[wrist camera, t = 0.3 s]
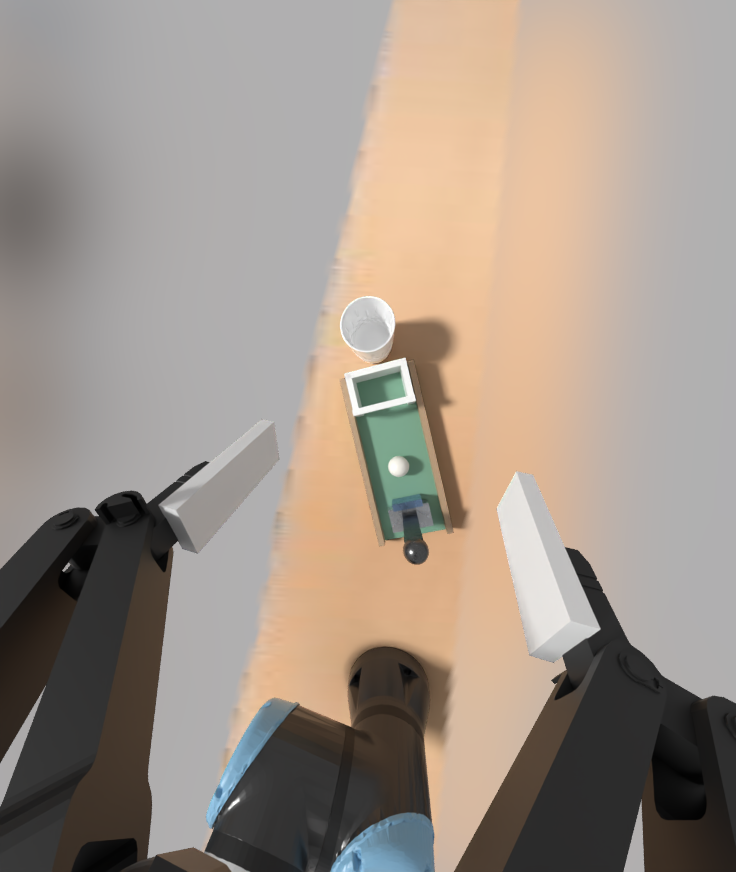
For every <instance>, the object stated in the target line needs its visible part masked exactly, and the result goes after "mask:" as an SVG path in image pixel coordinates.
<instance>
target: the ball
mask: <svg viewBox="0 0 736 872" xmlns="http://www.w3.org/2000/svg"><path fill="white" fill-rule="evenodd" d="M388 469H389V472H390V473H391V474H392V475H393V476H396V477H402V476H404V475H406V474H407V472H408V470H409V463H408V461H407V460H406V459H405V458H404V457H402V456H395V457H393V458H392V459H391V460H390V461H389V464H388Z"/></svg>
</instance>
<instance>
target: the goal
mask: <svg viewBox="0 0 736 872" xmlns="http://www.w3.org/2000/svg"><path fill="white" fill-rule="evenodd" d="M397 372H400V374H401V378H402V382H403V386H404V391H405V395H406V397H402V398H398V399H394V400H390V401H386V402H382V403H378V404H374V405H370V406H366V407H362V405H361V401H360V397H359V392H358V388H357V384H356V383H359V382H362V381H366V380H370V379H374V378H378V377H382V376H385V375H389V374H393V373H397ZM344 375H345V379H346V384H347V388H348V392H349V396H350V400H351V405H352V409H353V410H352V412H353V416H356V417H361V416H364V414H365V413H369V412H373V411H378V410H382V409H386V408H390V407H394V406H398V405H402V404H406V403H407V404H408V405H410V404H414V402H415V401H416V399H415V394H414V392H413V388H412V384H411V379H410V375H409V371H408V366H407V362H406V358H401V359H398V360H394V361H390V362H386V363H383V364H379V365H375V366H371V367H368V368H364V369H360V370H356V371H353V372H349V373H345V374H344Z"/></svg>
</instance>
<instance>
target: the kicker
mask: <svg viewBox="0 0 736 872" xmlns="http://www.w3.org/2000/svg"><path fill="white" fill-rule="evenodd" d="M388 513H389V517H390V521H391V525H392V529H393V533H396V532H402V531H404V543H405V544H404V547H403V553H404V556H405V558H406V559H407V561H408V562H410V563H412V564H415V565H419V564H422V563H424V562H425V561H426V560H427V558H428V555H429V549H428V546H427V544H426V543H425V541H424V540H423V537H422V533H421V529H420V528H423V527H428V526H433V520H432V516H431V512H430V507H429V503H428V500H427V499H426V500H422V499H421V496H420V494H416V495H411V496H406V497H402V498H397V499H392V506H391V507H388Z"/></svg>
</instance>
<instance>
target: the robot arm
mask: <svg viewBox="0 0 736 872" xmlns="http://www.w3.org/2000/svg"><path fill="white" fill-rule="evenodd" d="M278 460H279V453H278V446H277V440H276V433H275V427H274V422H272V421H266V420H261V421H259V422H258V423H257V424H256V425H255V426H253V427H252V428H251V429H250V430H249V431H247V432H246V433H245V434H244V435H242V436H241V437H240V438H239V439H238V440H236V441H235V442H234V443H233V444H232V445H230V446H229V447H228V448H227V449H226V450H224V451H223V452H222V453H221V454H219V455H218V456H217V457H216V458H215V459H213V460H212V461H211V462H206V461H205V462H203V463H201V464H199V465H197V466H194V467H193V468H192V469H190V470H189V471H188V472H187V473H185V474H184V476H182V477H180V478H179V479H178V480H177V481H176V482H174V483H173V484H172V485H170V486H169V487H168V488H166V489H165V490H164V491H163V492H161V493H160V494H159V495H158V496H157V497H155V498H154V499H152V500H151V501H150V502H149V503H147V504H146V502H145V500H144V498H143V497H142V495H141V494H140V493H138V492H136V491H125V492H121V493H117V494H114V495H112V496H110V497H108V498H106V499H105V500H104V501H102V502H101V503H100V504H98V506H97V507H96V509H95V511H96V512H97V514H98V515H99V516H94V515H93V514H92V513H91V512H90V510H88V509H86V508H73V509H69V510H66V511H63V512H61V513H59V514H57V515H55V516H53V517H52V518H50V519H49V520H48V521H46V522H45V523H44V524H43V525H42V526H41V527H40V528H39V529H38V530H37V531H36V532H35V533H34V534H33V535H32V536H31V538H30V539H29V540H28V541H27V542H26V543H25V544H24V545H23V546H22V547H21V548H20V549H19V550H18V551H17V552H16V553H15V554H14V555H13V556H12V558H11V559H10V560H9V561H8V562H7V563H6V564H5V565H4V566H3V567H2V568H1V569H0V763H1V761H2V759H3V757H4V756H5V754H6V752H7V751H8V749H9V747H10V745H11V744H12V742H13V740H14V738H15V737H16V735H17V733H18V732H19V730H20V728H21V727H22V725H23V723H24V721H25V720H26V718H27V716H28V715H29V713H30V711H31V710H32V708H33V706H34V704H35V703H36V701H37V699H38V698H39V696H40V694H41V692H42V691H43V689H44V687H45V686H46V687H45V690H44V692H43V695H42V698H41V701H40V703H39V706H38V709H37V711H36V714H35V717H34V719H33V722H32V725H31V727H30V730H29V733H28V736H27V738H26V741H25V743H24V746H23V749H22V752H21V754H20V757H19V760H18V762H17V765H16V768H15V770H14V773H13V776H12V778H11V781H10V784H9V787H8V789H7V792H6V794H5V797H4V800H3V802H2V804H1V806H0V872H435V867H434V850H433V844H434V830H433V825H432V818H431V808H430V798H429V787H428V777H427V767H426V756H425V746H424V734H425V729H426V724H427V718H428V713H429V707H430V693H429V685H428V680H427V677H426V674H425V672H424V670H423V668H422V667H421V665H420V664H419V663H418V662H417V661H416V660H415V659H414V658H413V657H412V656H410V655H409V654H407V653H405V652H403V651H401V650H398V649H395V648H389V647H381V648H375V649H372V650H369V651H367V652H365V653H364V654H362V655H361V656H360V657H359V658H358V659H357V660H356V662H355V663H354V665H353V667H352V669H351V673H350V678H349V683H348V702H349V710H350V718H351V727H349V726H347V725H345V724H342V723H340V722H337V721H335V720H333V719H330V718H328V717H326V716H323V715H321V714H318V713H316V712H314V711H311V710H309V709H307V708H304V707H302V706H300V704H299V703H297V702H296V703H291V702H288V701H285V700H282V699H280V698H272V699H270V700H268V701H267V702H266V703H265V704H264V705H263V706H262V707H261V708H260V710H259V711H258V712H257V714H256V715H255V717H254V718H253V720H252V721H251V723H250V725H249V726H248V728H247V730H246V732H245V733H244V735H243V737H242V739H241V740H240V742H239V744H238V746H237V748H236V750H235V751H234V753H233V755H232V757H231V759H230V761H229V763H228V765H227V767H226V769H225V771H224V773H223V775H222V777H221V780H220V784H219V785H218V787H217V789H216V791H215V793H214V795H213V797H212V800H211V802H210V805H209V807H208V811H207V814H206V821H207V823H208V825H209V828H211V829H213V828H214V829H213V832H212V835H211V837H210V839H209V842H208V844H207V847H206V849H205V852H204V853H203V852H201V851H199V850H197V849H195V848H188V849H183V850H179V851H173V852H169V853H163V854H158V855H156V856H155V857H152V858H149V859H147V855H148V845H149V834H150V825H151V814H152V796H151V790H150V786H149V782H148V764H149V756H150V748H151V739H152V731H153V722H154V714H155V705H156V697H157V688H158V680H159V671H160V662H161V654H162V646H163V637H164V629H165V620H166V612H167V603H168V595H169V586H170V577H171V569H172V560H173V548H172V546H173V545H174V544H175V543H176V542H177V541H178V542H179V544H180V545H181V547H182V549H184V550H188V551H191V552H194V553H197V554H198V553H199V552H200V551H201V550H202V549H203V547H204V546H205V545H206V544H207V543H208V542H209V540H210V539H211V538H212V537H213V536H214V535H215V534H216V532H217V531H218V530H219V529H220V528H221V527H222V525H223V524H224V523H225V522H226V521H227V519H228V518H229V517H230V516H231V515H232V514H233V512H234V511H235V510H236V509H237V508H238V507H239V506H240V504H241V503H242V502H243V501H244V500H245V499H246V498H247V496H248V495H249V494H250V493H251V492H252V491H253V489H254V488H255V487H256V486H257V485H258V484H259V482H260V481H261V480H262V479H263V478H264V477H265V475H266V474H267V473H268V472H269V471H270V470H271V469H272V467H273V466H274V465H275V464H276V463H277V461H278ZM497 513H498V518H499V522H500V526H501V531H502V535H503V540H504V544H505V549H506V553H507V558H508V562H509V567H510V570H511V576H512V580H513V584H514V589H515V593H516V598H517V602H518V607H519V611H520V616H521V620H522V624H523V629H524V634H525V638H526V642H527V647H528V651H529V655H530V656H533V657H536V658H540V659H543V660H546V661H549V662H553V663H554V662H555V661H556V660H558V659H560V658H561V657H562V656H563V660H564V663H565V666H566V669H567V670H566V671H564V672H562V673H561V674H559V675H557V676H556V677H555V678H554V679H552V680H551V681H552V682H553V683H554V684H556V683H557V684H556V686H555V688H554V690H553V691H552V693H551V695H550V697H549V699H548V701H547V702H546V704H545V706H544V708H543V710H542V712H541V714H540V715H539V717H538V719H537V721H536V723H535V725H534V726H533V728H532V730H531V732H530V734H529V735H528V737H527V739H526V741H525V743H524V745H523V746H522V748H521V750H520V752H519V754H518V756H517V757H516V759H515V761H514V763H513V765H512V767H511V769H510V770H509V772H508V774H507V776H506V777H505V779H504V781H503V783H502V785H501V787H500V789H499V790H498V792H497V794H496V796H495V798H494V800H493V801H492V803H491V805H490V807H489V809H488V811H487V812H486V814H485V816H484V818H483V820H482V821H481V824H480V825H479V827H478V829H477V831H476V832H475V834H474V836H473V838H472V840H471V842H470V843H469V845H468V847H467V849H466V851H465V853H464V855H463V856H462V858H461V860H460V862H459V864H458V866H457V867H456V869H455V871H454V872H623V871H624V867H625V863H626V859H627V854H628V850H629V847H630V843H631V839H632V834H633V830H634V827H635V822H636V819H637V815H638V811H639V806H640V802H641V799H642V821H643V845H644V866H645V867H644V868H645V872H736V703H734V702H731V701H730V700H728V699H726V698H724V697H718V696H711V697H708V698H705V699H701V698H699V697H698V696H696V695H694V694H692V693H691V692H689V691H687V690H685V689H684V688H682V687H680V686H678V685H677V684H675V683H673V682H672V681H670V680H668V679H666V678H665V677H663V676H662V675H661V674H660V672H659V671H658V670H657V668H656V667H655V666H654V664H653V663H652V662H651V661H650V660H649V659H648V658H647V657H646V656H645V655H644V654H643V653H642V652H640V651H639V650H637V649H636V648H634V647H633V646H632V645H631V644H630V643H629V641H628V639H627V637H626V636H625V633H624V631H623V629H622V627H621V625H620V623H619V621H618V619H617V618H616V616H615V613H614V611H613V609H612V608H611V606H610V603H609V601H608V600H607V597H606V595H605V594H604V593H603V589H602V587H601V586H600V583H599V581H597V577H596V576H595V573H594V571H593V569H592V568H591V565H590V564H589V562H588V561H587V560H586V559H585V558H584V557H583V556H582V554H581V553H580V552H579V551H578V550H575V549H570V548H566V547H564V545H563V542H562V540H561V538H560V536H559V533H558V531H557V529H556V527H555V524H554V522H553V520H552V517H551V515H550V513H549V510H548V508H547V506H546V504H545V502H544V499H543V497H542V494H541V492H540V490H539V488H538V486H537V483H536V481H535V479H534V476H533V475H531V474H526V473H522V472H516V473H515V475H514V477H513V479H512V481H511V482H510V485H509V486H508V488H507V490H506V492H505V494H504V496H503V498H502V499H501V501H500V503H499V505H498V507H497ZM68 562H69V563H70V564H71V565H70V566H69V567H68V569H67V570H66V571H65V572H63V571H62V570H63V569H64V567H65V566H66V565H67V563H68Z"/></svg>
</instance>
